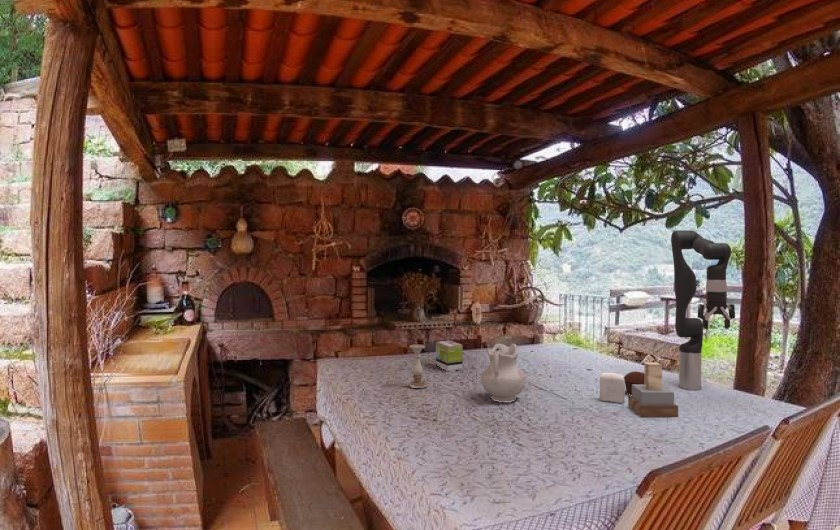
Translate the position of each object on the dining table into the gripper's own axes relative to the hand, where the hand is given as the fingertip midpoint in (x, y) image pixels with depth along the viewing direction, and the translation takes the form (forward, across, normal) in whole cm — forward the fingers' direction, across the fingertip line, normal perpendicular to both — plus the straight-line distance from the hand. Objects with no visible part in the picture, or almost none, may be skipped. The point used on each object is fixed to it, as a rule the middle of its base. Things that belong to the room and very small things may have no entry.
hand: (716, 328), depth 210 cm
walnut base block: (+33, +31, +10) cm, 46 cm away
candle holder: (+32, +128, -27) cm, 135 cm away
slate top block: (+28, +31, +10) cm, 43 cm away
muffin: (+32, +27, -15) cm, 45 cm away
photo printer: (+32, +42, -4) cm, 53 cm away
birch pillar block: (+23, +31, +10) cm, 39 cm away
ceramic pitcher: (+32, +89, -6) cm, 95 cm away
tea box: (+32, +112, -66) cm, 134 cm away
